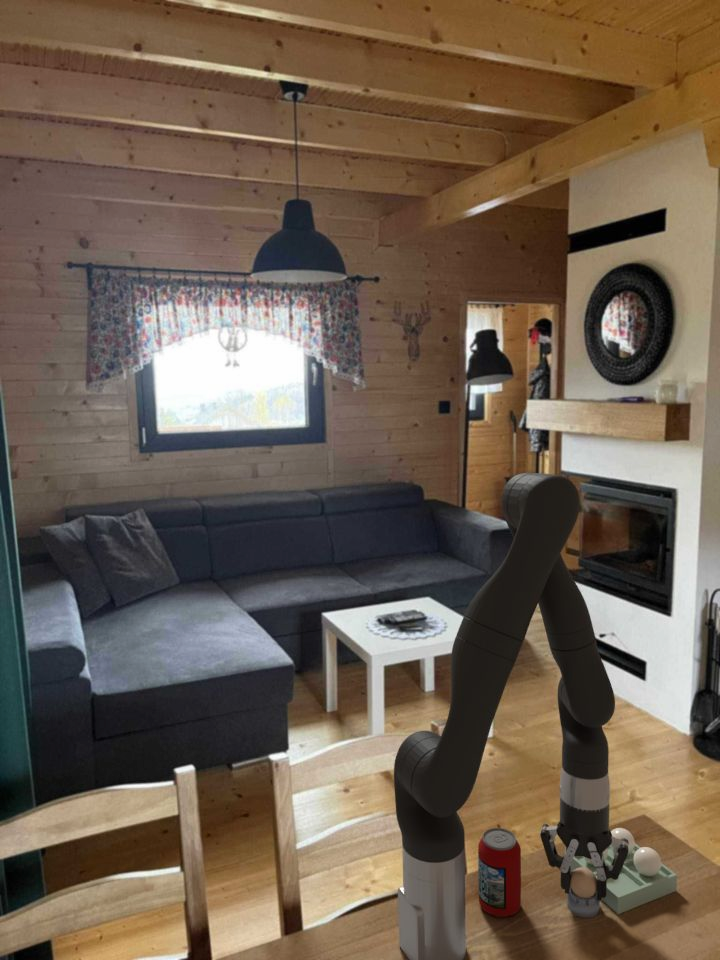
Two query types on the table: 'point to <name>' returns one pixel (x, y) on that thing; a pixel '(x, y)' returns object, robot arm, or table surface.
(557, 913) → the table surface
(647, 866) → the white egg
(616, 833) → the white egg
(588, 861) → the white egg
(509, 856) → the beverage can
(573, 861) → the egg carton
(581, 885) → the brown egg
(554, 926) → the table surface
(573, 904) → the egg cup
